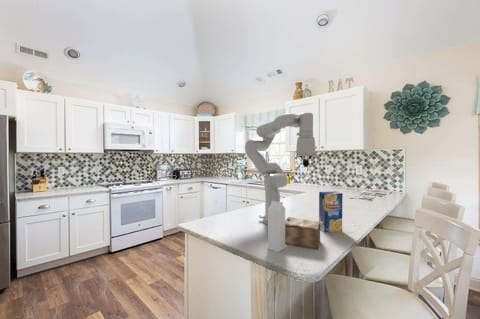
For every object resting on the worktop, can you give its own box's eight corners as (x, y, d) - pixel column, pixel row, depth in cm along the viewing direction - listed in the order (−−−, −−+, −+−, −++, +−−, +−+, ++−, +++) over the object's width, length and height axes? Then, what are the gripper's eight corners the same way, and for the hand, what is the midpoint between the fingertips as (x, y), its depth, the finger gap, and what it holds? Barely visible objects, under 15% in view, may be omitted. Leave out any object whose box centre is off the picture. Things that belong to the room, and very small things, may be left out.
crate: (283, 244, 111) (283, 226, 111) (288, 236, 122) (288, 219, 122) (318, 250, 105) (318, 230, 105) (320, 241, 116) (320, 223, 116)
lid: (283, 224, 111) (283, 221, 111) (288, 218, 122) (288, 215, 122) (317, 230, 105) (317, 226, 104) (319, 223, 116) (319, 219, 116)
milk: (273, 245, 111) (274, 199, 110) (285, 248, 107) (285, 201, 107) (267, 249, 106) (267, 201, 106) (279, 252, 102) (279, 203, 102)
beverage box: (342, 231, 132) (342, 193, 131) (324, 232, 130) (324, 193, 130) (335, 227, 139) (335, 191, 138) (318, 228, 137) (319, 191, 137)
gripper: (291, 134, 129) (291, 167, 129) (319, 133, 123) (319, 167, 123) (294, 135, 136) (293, 166, 136) (320, 135, 130) (320, 167, 130)
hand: (305, 167), depth 130 cm, fingers closed
